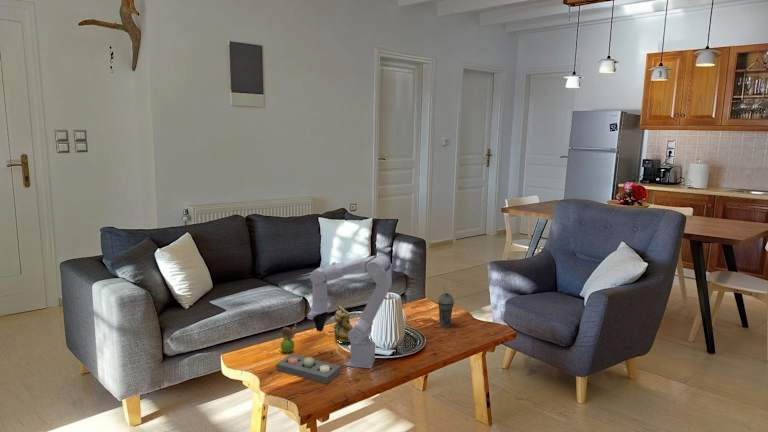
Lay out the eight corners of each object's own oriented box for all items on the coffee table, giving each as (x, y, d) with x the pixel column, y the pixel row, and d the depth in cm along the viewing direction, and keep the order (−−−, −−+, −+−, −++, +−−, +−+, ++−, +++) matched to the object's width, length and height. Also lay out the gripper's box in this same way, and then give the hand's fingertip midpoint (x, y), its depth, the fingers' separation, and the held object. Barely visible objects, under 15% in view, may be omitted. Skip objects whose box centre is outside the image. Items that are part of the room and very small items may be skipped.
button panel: (340, 372, 201) (340, 365, 201) (326, 383, 192) (326, 377, 192) (292, 359, 210) (291, 353, 210) (276, 370, 201) (276, 364, 201)
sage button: (315, 365, 202) (315, 358, 201) (310, 369, 198) (310, 362, 198) (307, 363, 203) (307, 356, 203) (301, 367, 200) (301, 360, 199)
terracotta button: (299, 365, 205) (299, 358, 204) (294, 369, 202) (294, 361, 201) (291, 363, 206) (291, 356, 206) (286, 367, 203) (286, 359, 203)
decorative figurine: (331, 337, 232) (331, 304, 229) (348, 334, 235) (349, 301, 232) (339, 346, 223) (339, 312, 220) (357, 343, 227) (358, 309, 224)
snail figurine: (293, 355, 214) (293, 327, 211) (278, 353, 215) (278, 325, 213) (298, 349, 219) (298, 322, 217) (283, 348, 220) (283, 320, 218)
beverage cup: (453, 329, 244) (455, 287, 240) (437, 328, 244) (439, 286, 240) (451, 323, 251) (454, 282, 247) (436, 322, 251) (438, 281, 247)
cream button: (331, 373, 199) (331, 366, 198) (326, 377, 196) (326, 370, 195) (323, 371, 201) (323, 364, 200) (317, 375, 197) (317, 368, 197)
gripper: (320, 290, 218) (320, 322, 221) (300, 301, 205) (300, 335, 208) (336, 293, 215) (335, 325, 218) (316, 304, 202) (316, 338, 205)
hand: (319, 330), depth 213 cm, fingers closed
